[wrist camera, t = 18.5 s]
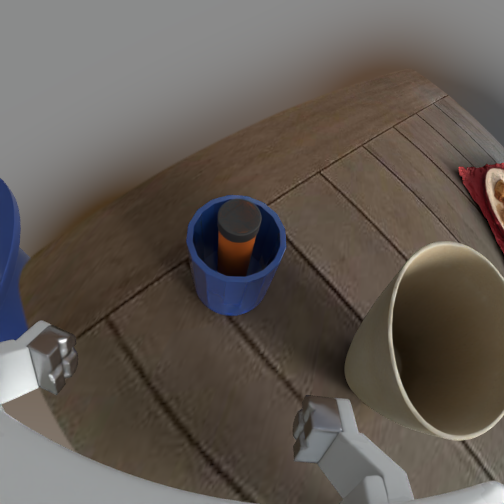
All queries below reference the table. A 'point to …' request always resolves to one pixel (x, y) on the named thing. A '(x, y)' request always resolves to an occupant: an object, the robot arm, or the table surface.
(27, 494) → the robot arm
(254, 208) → the orange tube bottle
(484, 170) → the plate with food
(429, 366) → the plant pot
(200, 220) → the cup
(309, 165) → the table surface
